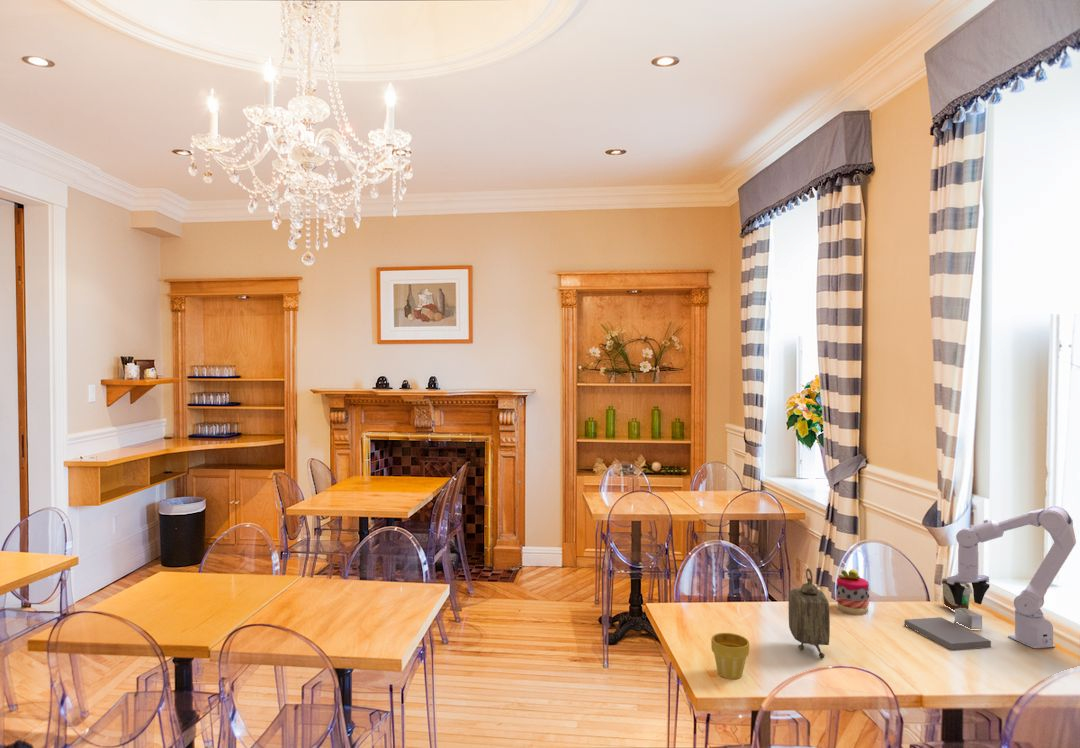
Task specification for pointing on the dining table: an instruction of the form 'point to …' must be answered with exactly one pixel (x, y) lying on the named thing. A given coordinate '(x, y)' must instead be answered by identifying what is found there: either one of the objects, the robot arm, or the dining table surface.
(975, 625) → the housing
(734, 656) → the plant pot
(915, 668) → the dining table surface
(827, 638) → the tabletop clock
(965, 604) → the food container
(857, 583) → the cake
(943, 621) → the grey flat block
